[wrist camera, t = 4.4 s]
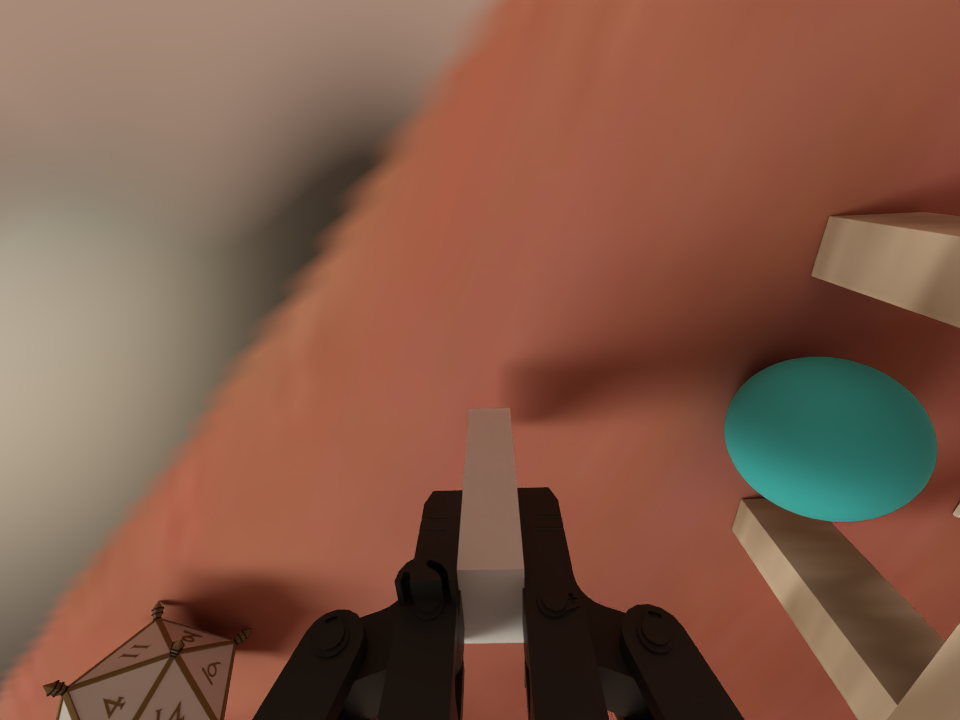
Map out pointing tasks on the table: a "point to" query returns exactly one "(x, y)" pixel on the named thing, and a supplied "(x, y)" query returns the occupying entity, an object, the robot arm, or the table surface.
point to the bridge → (821, 546)
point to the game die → (155, 677)
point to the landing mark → (957, 511)
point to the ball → (830, 439)
